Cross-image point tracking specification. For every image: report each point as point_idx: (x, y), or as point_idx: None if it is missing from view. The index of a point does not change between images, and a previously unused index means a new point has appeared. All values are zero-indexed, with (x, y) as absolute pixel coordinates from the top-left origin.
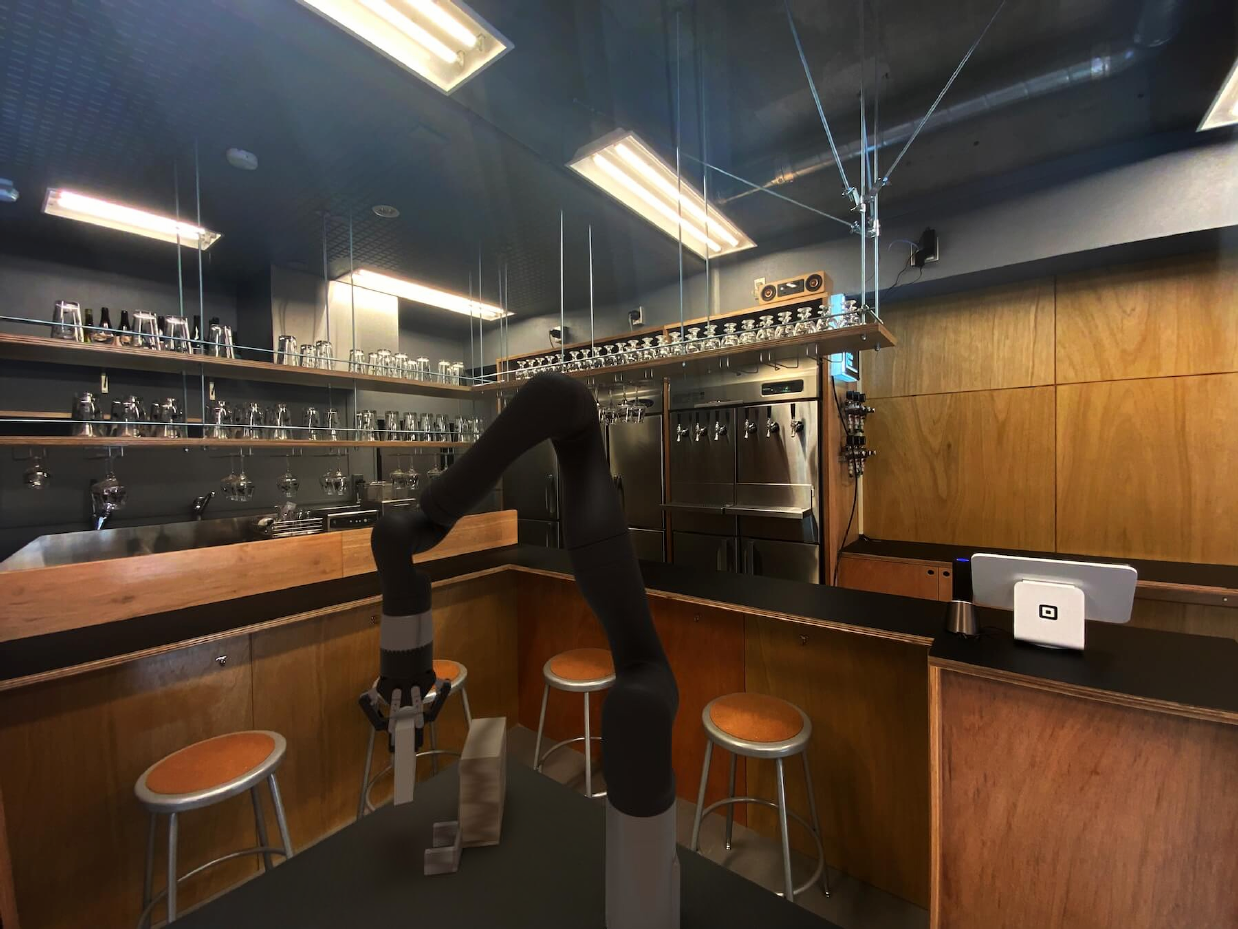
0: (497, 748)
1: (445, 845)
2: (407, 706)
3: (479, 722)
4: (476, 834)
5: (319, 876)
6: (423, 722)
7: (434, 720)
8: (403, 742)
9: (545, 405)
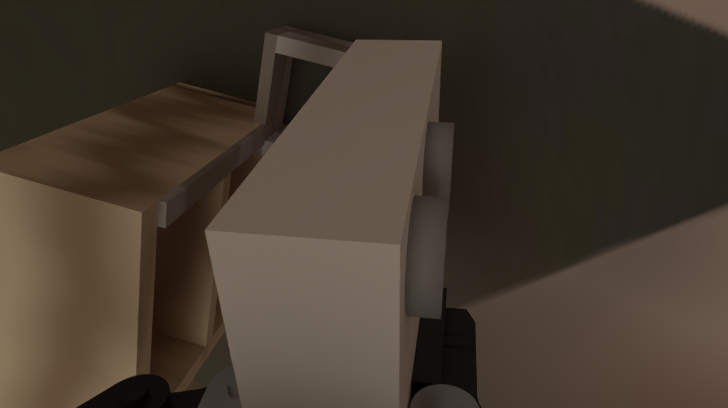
0: None
1: None
2: None
3: None
4: (223, 104)
5: (652, 159)
6: (208, 387)
7: (130, 378)
8: (340, 172)
9: None
